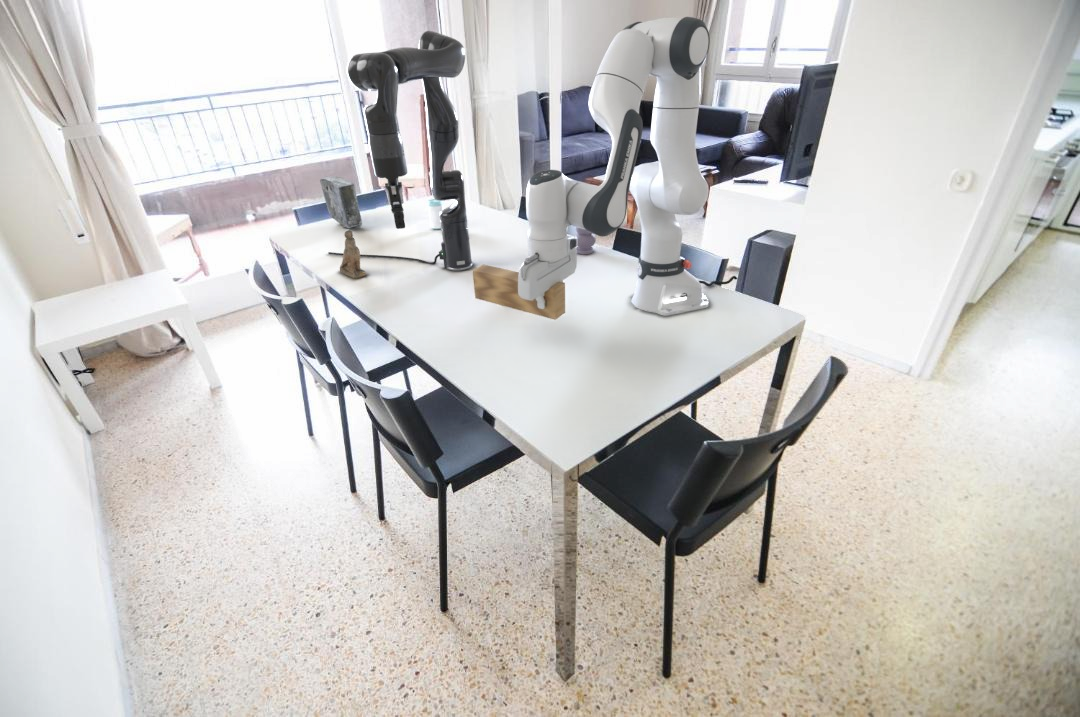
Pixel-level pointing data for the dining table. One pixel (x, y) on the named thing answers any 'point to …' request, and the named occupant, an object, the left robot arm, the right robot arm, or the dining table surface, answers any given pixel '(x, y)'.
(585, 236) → the cat figurine
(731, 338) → the dining table surface
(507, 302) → the bar
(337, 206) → the concrete block
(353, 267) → the brown carved statuette
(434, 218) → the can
